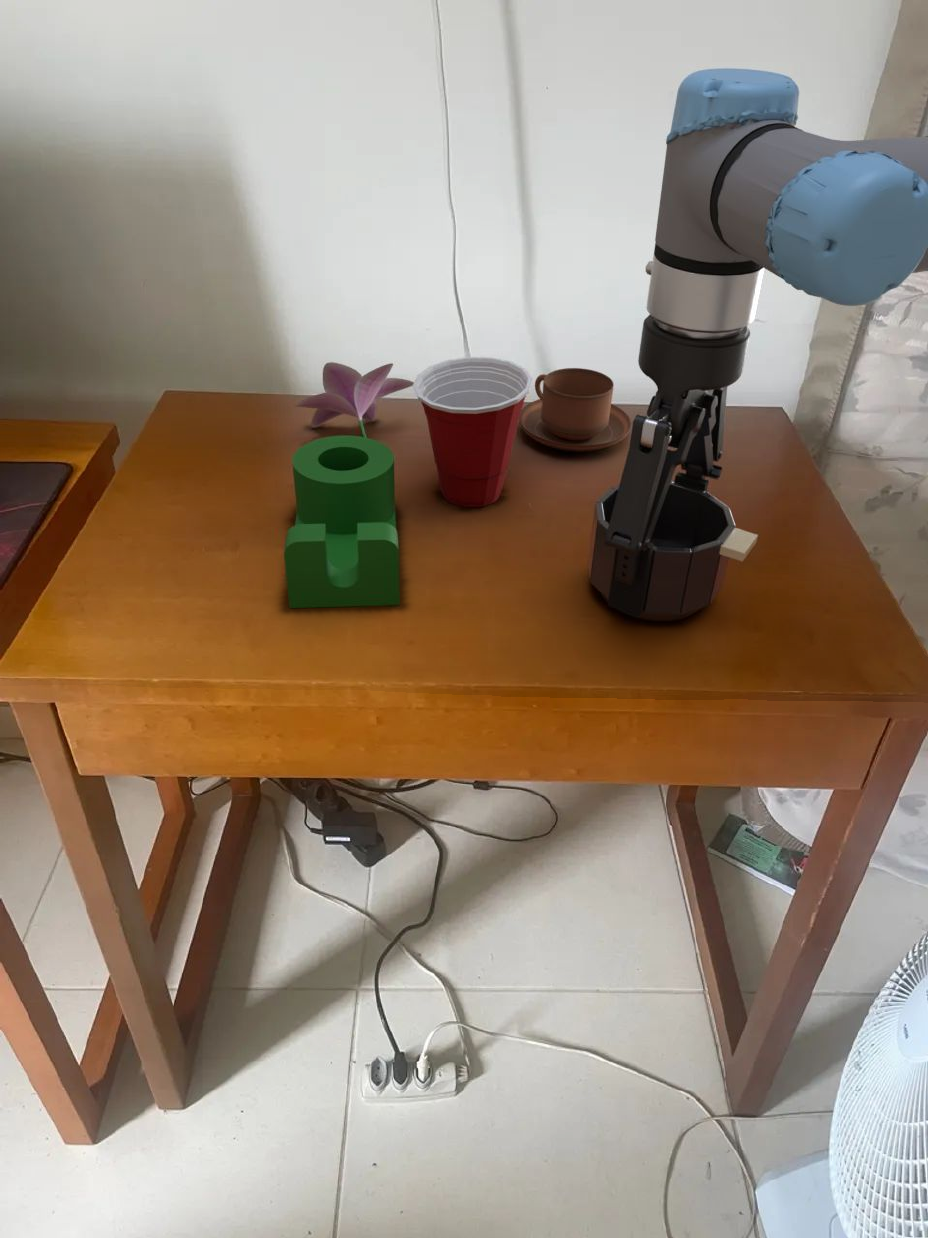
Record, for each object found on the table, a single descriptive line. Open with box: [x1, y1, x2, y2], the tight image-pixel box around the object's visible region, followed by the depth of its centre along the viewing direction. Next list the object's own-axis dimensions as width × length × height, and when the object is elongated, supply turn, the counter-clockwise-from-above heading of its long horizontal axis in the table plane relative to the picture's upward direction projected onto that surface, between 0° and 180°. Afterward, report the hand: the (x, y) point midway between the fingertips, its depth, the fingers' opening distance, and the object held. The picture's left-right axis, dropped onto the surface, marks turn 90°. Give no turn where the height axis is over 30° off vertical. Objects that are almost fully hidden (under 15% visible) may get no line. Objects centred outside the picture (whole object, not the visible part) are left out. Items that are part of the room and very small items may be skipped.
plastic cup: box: [412, 356, 533, 508], centre depth 92 cm, size 11×11×12 cm
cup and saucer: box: [518, 367, 632, 452], centre depth 104 cm, size 12×12×6 cm
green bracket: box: [283, 435, 401, 609], centre depth 86 cm, size 18×9×6 cm, turn 5°
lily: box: [293, 361, 415, 438], centre depth 102 cm, size 12×12×10 cm
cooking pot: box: [587, 480, 759, 615], centre depth 81 cm, size 13×11×6 cm
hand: (653, 574), depth 83 cm, fingers closed on cooking pot, 11 cm apart
